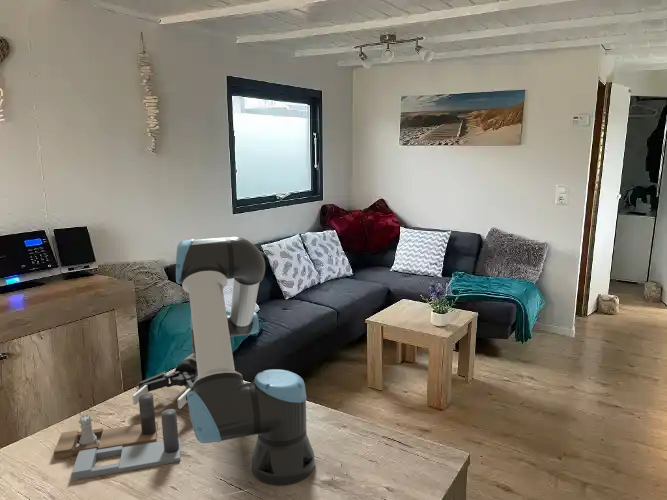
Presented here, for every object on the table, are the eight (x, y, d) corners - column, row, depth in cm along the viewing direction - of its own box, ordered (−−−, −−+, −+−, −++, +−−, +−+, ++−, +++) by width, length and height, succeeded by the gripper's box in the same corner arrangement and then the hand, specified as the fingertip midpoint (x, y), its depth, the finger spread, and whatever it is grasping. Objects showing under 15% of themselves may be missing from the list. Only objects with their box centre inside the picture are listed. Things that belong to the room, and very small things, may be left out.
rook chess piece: (101, 440, 135) (98, 412, 133) (92, 450, 130) (88, 422, 129) (85, 439, 135) (82, 412, 133) (75, 449, 131) (71, 421, 129)
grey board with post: (180, 461, 125) (176, 420, 123) (72, 480, 118) (67, 437, 116) (180, 441, 133) (177, 402, 131) (80, 458, 127) (75, 417, 124)
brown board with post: (156, 442, 133) (152, 403, 131) (54, 459, 126) (49, 418, 124) (157, 424, 141) (154, 388, 139) (62, 439, 135) (57, 401, 133)
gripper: (229, 383, 159) (199, 418, 139) (156, 377, 164) (117, 410, 144) (227, 361, 158) (197, 392, 138) (154, 356, 163) (114, 386, 142)
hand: (156, 402), depth 141 cm, fingers open, 13 cm apart
